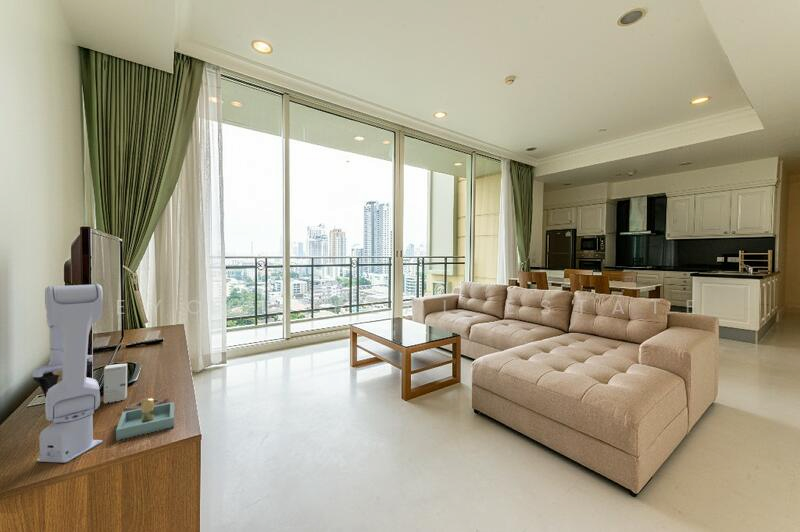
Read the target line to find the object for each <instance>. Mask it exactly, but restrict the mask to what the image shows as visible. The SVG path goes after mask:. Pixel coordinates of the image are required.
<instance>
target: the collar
mask: <svg viewBox="0 0 800 532" xmlns="http://www.w3.org/2000/svg"><path fill="white" fill-rule="evenodd" d="M149 397H150V396H148V397H147V396H146V397H143V398H141V399H139V400H137V401H135V402H133V403H131V404H129V405H127V406H125V407H123V412H125V411H130V410H135V409H140V408H141V400H142V399H145V398H149ZM153 398H154V406H156V405H161V404H166V403H170V400H169V399H170V398H169V397H153Z"/></svg>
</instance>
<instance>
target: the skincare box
mask: <svg viewBox="0 0 800 532" xmlns="http://www.w3.org/2000/svg"><path fill="white" fill-rule="evenodd" d="M127 397H128V363H127V362H125V363H117V364H110V365H109V364H108V365H105V366H104V369H103V404H108V402H109V403H115V401H116V402H121V400H122V401H125V400H126V399H127Z"/></svg>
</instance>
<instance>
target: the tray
mask: <svg viewBox="0 0 800 532" xmlns="http://www.w3.org/2000/svg"><path fill="white" fill-rule="evenodd" d="M171 427H175V402H174V401H171V402H168V403H166V404H161V405H156V406H154V421H149V422H145V423H142V421H141V408H140V409H135V410H130V411H125V412H124V411H122V412H121V416H120V417H119V421H118V424H117V426H116V430H115V436H116V438H115V439H116V442H118V441H122V440H121V439H123V440H126V439H125V438H127V439H129V438H128V437H131V438H134V437H133V436H136V437H138V436H137V435H140V436H143V435H142V434H144V435H147V433H149V434H152V433H151V432H153V433H156V432H155V431H157V432H160V431H159V430H161V431H164V430H163V429H166V428H170V429H172V428H171ZM166 430H167V429H166Z"/></svg>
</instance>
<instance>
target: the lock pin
mask: <svg viewBox="0 0 800 532" xmlns="http://www.w3.org/2000/svg"><path fill="white" fill-rule="evenodd" d="M148 397H149V398H145V397H144V398H145V399H143V398H141V399H142V400H141V399H140V400H141V421H142V423H145V422H149V421H154V398H155V397H150V396H148Z"/></svg>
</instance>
